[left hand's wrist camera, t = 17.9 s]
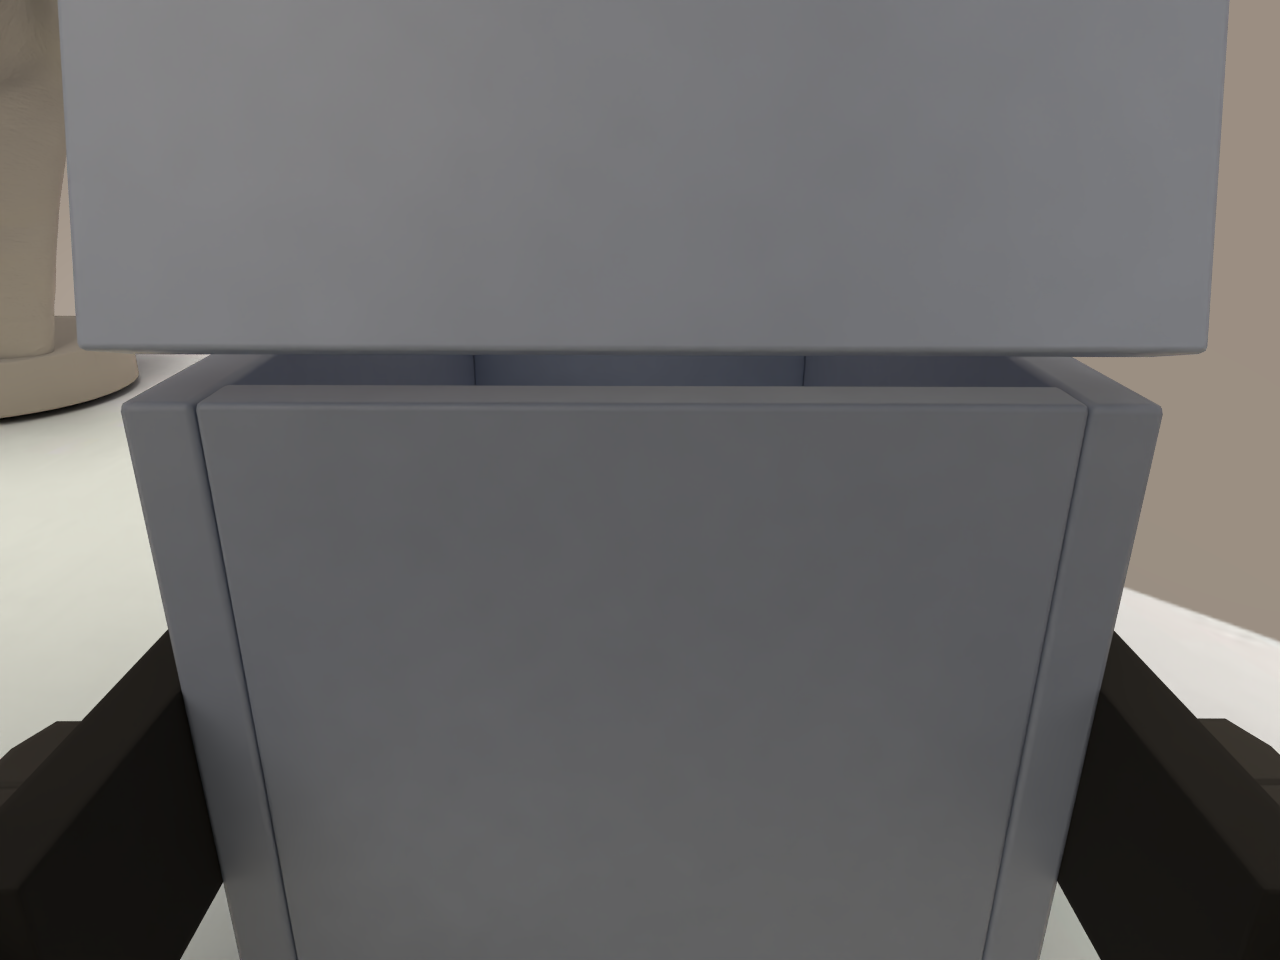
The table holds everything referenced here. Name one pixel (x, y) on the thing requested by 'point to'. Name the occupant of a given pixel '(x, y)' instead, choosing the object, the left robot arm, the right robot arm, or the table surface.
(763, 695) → the chest
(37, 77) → the bust sculpture
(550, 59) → the lid
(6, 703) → the table surface
